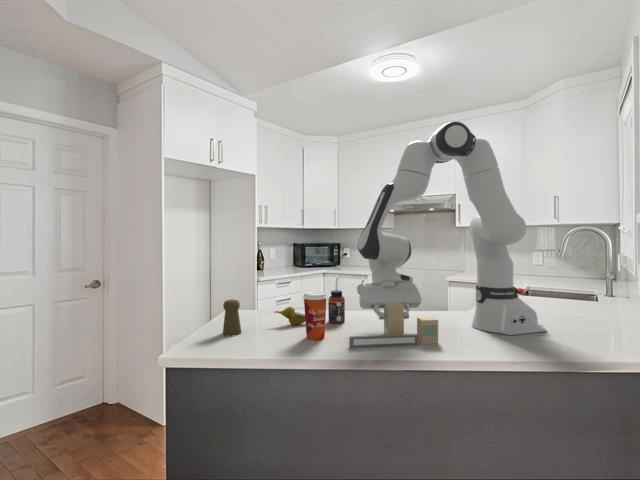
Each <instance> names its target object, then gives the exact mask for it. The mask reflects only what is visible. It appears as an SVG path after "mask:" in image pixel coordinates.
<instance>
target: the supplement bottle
mask: <svg viewBox="0 0 640 480" xmlns="http://www.w3.org/2000/svg"><path fill="white" fill-rule="evenodd" d="M330 295H331V296H329V297H328V303H327V304H328V308H327V309H328V322H329V323H331V324H343V323H344V322H345V321H346V320H345V319H346V309H345V305H346V303H345V301H346V298H345V297H344V296H343V291H342V290H337V289H336V290H335V289H334V290H331V292H330Z"/></svg>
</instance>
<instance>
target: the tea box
mask: <svg viewBox="0 0 640 480" xmlns="http://www.w3.org/2000/svg"><path fill="white" fill-rule="evenodd" d="M416 334H417V335H418V343H420V344H421V343H422V344H421V345H430V344H431V343H435V344H439V319H437V318H436V317H434V316H417V317H416ZM427 343H429V344H427Z"/></svg>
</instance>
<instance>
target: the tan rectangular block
mask: <svg viewBox="0 0 640 480" xmlns="http://www.w3.org/2000/svg"><path fill="white" fill-rule="evenodd" d="M383 312H384V319H383V334H384V335H398V334H405V319H404V312H405V309H404V305H403V304H401V303H400V302H398V303H385V304H384V308H383Z"/></svg>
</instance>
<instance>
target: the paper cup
mask: <svg viewBox="0 0 640 480" xmlns="http://www.w3.org/2000/svg"><path fill="white" fill-rule="evenodd" d="M302 299H303V304H304V305H303V306H304V307H303V308H304V314H305V322H304V323H305V333H306V339H308V340H311V341H320V340H324V339H325V334H326V315H327V314H326V312H327V299H328V296H327V293H326V292H324V291H318V290H317V291H307V292H304V294H303V296H302Z"/></svg>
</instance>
